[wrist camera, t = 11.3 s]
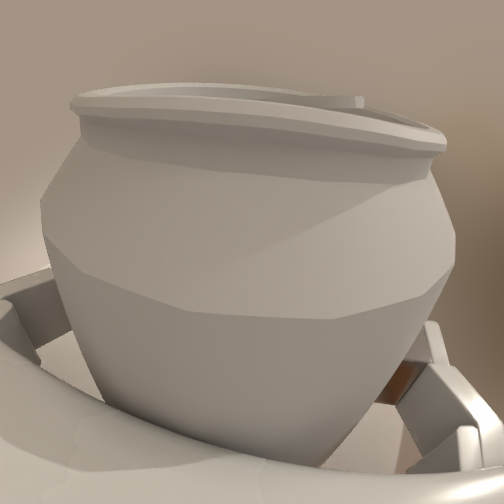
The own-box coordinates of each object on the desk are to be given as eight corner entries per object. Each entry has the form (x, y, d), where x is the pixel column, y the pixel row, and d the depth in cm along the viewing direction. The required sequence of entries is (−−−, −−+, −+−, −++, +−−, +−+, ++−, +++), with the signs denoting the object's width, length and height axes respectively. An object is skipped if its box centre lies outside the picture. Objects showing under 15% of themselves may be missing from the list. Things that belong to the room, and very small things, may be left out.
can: (198, 340, 15) (205, 76, 9) (339, 399, 13) (449, 122, 6) (100, 448, 9) (-34, 108, 3) (273, 545, 7) (633, 229, 1)
